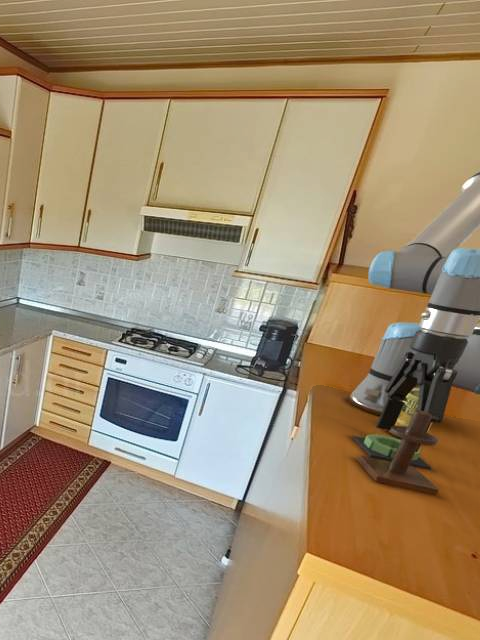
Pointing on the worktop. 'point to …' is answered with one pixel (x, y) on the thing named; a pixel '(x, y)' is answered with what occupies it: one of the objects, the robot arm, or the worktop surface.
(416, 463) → the mat
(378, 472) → the peg stand
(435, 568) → the worktop surface
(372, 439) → the ring
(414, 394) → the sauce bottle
